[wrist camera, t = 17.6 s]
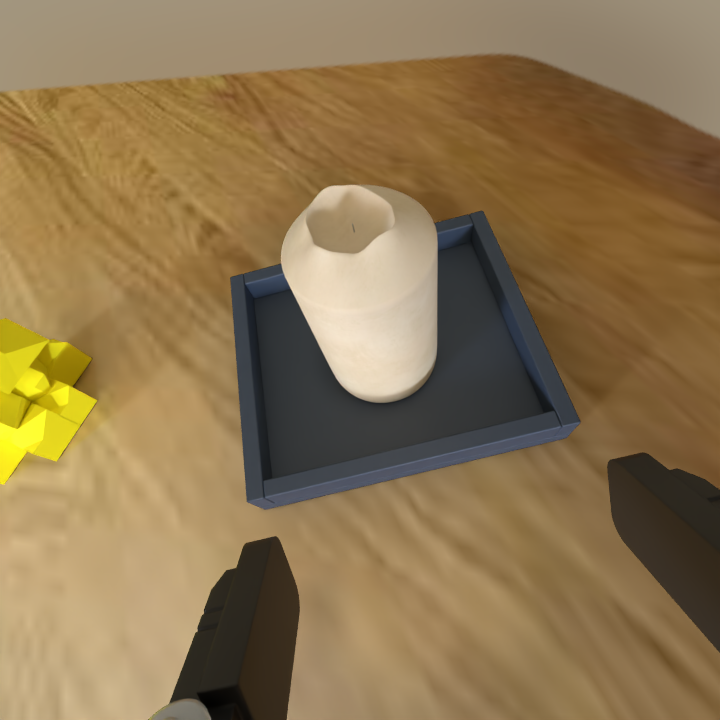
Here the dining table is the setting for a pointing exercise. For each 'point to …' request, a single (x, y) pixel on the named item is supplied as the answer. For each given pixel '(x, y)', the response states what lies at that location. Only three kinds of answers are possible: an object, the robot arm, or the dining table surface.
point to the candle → (368, 287)
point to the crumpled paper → (38, 395)
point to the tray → (403, 417)
